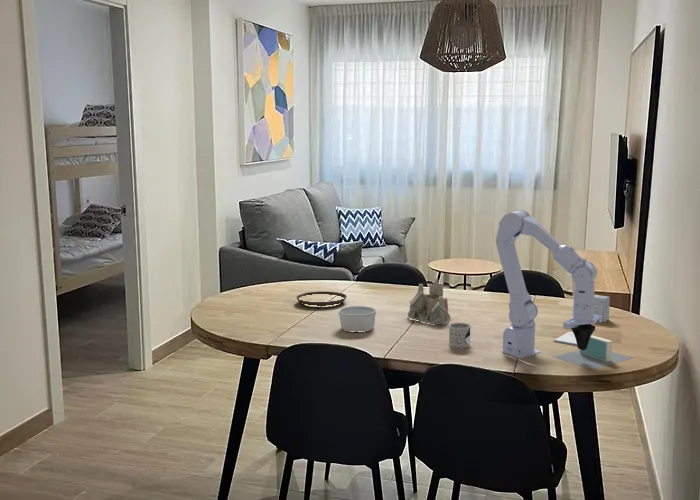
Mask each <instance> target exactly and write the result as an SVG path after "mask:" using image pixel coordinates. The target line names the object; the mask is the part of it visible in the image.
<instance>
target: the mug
mask: <svg viewBox="0 0 700 500" xmlns="http://www.w3.org/2000/svg"><path fill="white" fill-rule="evenodd" d="M448 327H449V328H448V329H449V338H448V339H449V340H448V341H449V343H448V345H450V346H451V347H450V346H449V347H450V348H452V347H454V348H453V349H458V348H463V349H468V348H470V347H471V325H470V324H469V323H465V322H454V323H451V324H449V326H448Z"/></svg>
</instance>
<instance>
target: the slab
mask: <svg viewBox="0 0 700 500" xmlns="http://www.w3.org/2000/svg"><path fill="white" fill-rule="evenodd" d="M579 350H580V353H581V354H584V355H587V356H590V357H593V358H597V359H600V360H603V361H606V362H608V361H611V356H612V352H613V341H612V340H611V339H607V338H603V337H599V336H596V335H593V334H592V335H591V337H590V339H589V342H588V346H587V349H586V350H581V349H579Z"/></svg>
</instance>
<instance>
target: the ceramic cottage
mask: <svg viewBox="0 0 700 500" xmlns="http://www.w3.org/2000/svg"><path fill="white" fill-rule="evenodd" d="M443 287H444V286H443V285H442V284H441V285H440V284H439V279H438V278H435V281H433V284H429V287H428V288H429V292H428V293H429V294H425V293H424V284H423V283H419V284H418V289H417V290H418V291H417V292H416V294H415V296H413V298H412V299H411V300H409V304H410V305H409V311H408V312H407V316H408V317H409V318H412V319H416V320H419V321H422V322H425V323H430V324H446V325H448V324H449V323H450V322H451V314H450V313H449V304H448V302H449V301H448V300H449V299H448V298H447V297H445V298H444V297H443V296H444V288H443ZM449 321H450V322H449ZM448 322H449V323H448Z"/></svg>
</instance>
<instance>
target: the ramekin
mask: <svg viewBox="0 0 700 500" xmlns="http://www.w3.org/2000/svg"><path fill="white" fill-rule="evenodd" d="M338 315H339V322H340V328H341V329H342V330H343V329H344V330H347V331H355V332H358V331H367V330H370V329H372V328H373V329H374V328H375V324H376V323H375V322H376V315H377V309H375V308H374V307H371V306H363V305H362V306H361V305H352V306H344V307H341V308H339V310H338ZM373 329H372V330H373ZM344 330H343V331H344Z"/></svg>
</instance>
